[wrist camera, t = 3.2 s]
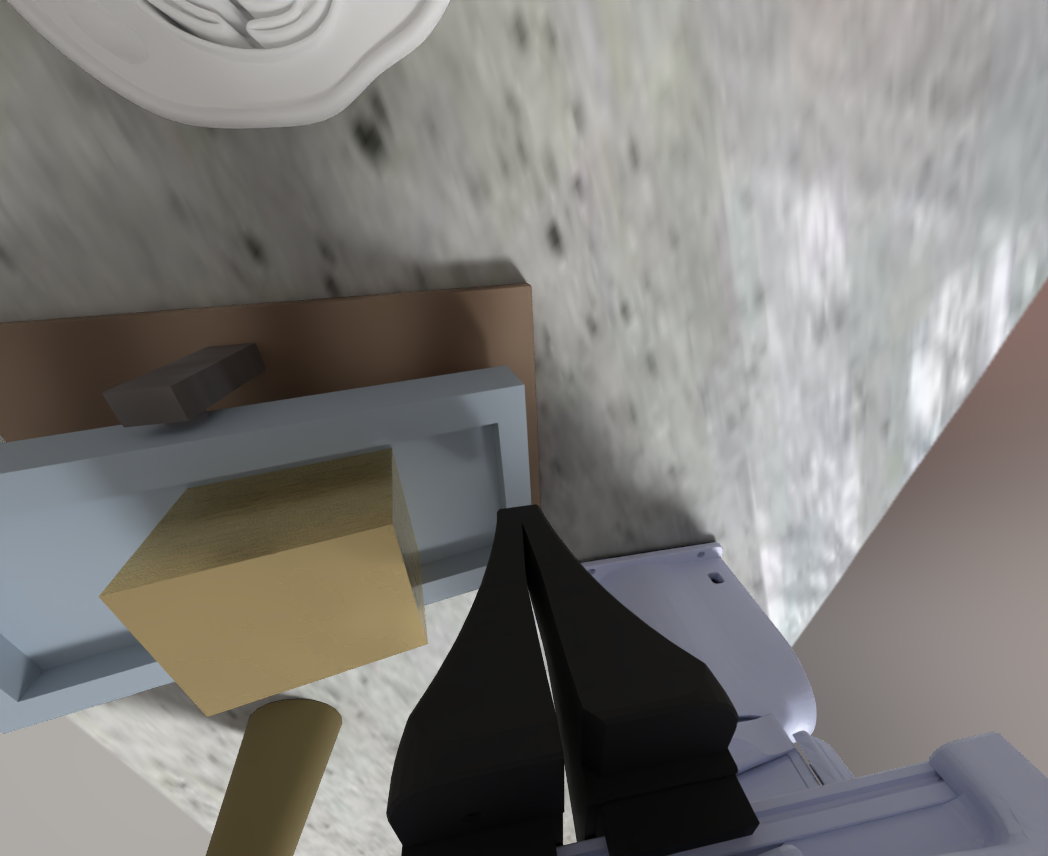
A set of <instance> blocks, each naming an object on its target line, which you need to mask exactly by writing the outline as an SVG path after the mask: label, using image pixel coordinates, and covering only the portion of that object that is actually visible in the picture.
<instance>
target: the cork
mask: <svg viewBox="0 0 1048 856" xmlns="http://www.w3.org/2000/svg"><path fill="white" fill-rule="evenodd" d="M341 725H342V717H341V715H340V714H339V713H338V711H337V710H336V709H334V708H333V707H331V706H329V705H327V704H325V703H321V702H318V701H314V700H305V699H290V700H281V701H277V702H273V703H269V704H267V705H265V706H263V707H260V708H258V709H257V710H256V711H255V712H254V713H253V714H252V715H251V716H250V718H249V721H248V724H247V727H246V731H245V734H244V737H243V740H242V743H241V746H240V749H239V753H238V756H237V759H236V762H235V765H234V768H233V771H232V775H231V778H230V781H229V784H228V787H227V790H226V793H225V797H224V800H223V803H222V806H221V809H220V812H219V815H218V819H217V822H216V825H215V828H214V831H213V834H212V837H211V841H210V844H209V847H208V850H207V854H206V856H293V855H294V852H295V849H296V846H297V844H298V841H299V838H300V836H301V833H302V830H303V828H304V825H305V822H306V819H307V817H308V814H309V811H310V809H311V806H312V803H313V801H314V798H315V795H316V792H317V790H318V787H319V784H320V782H321V779H322V776H323V773H324V771H325V768H326V765H327V763H328V760H329V757H330V755H331V752H332V749H333V746H334V744H335V741H336V738H337V736H338V733H339V730H340V728H341Z"/></svg>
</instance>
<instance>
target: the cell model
mask: <svg viewBox="0 0 1048 856" xmlns="http://www.w3.org/2000/svg"><path fill="white" fill-rule="evenodd" d="M7 1H8V2H9V3H10V4H11V5H12V6H13V7H14V8H15V9H16V10H17V12H18V13H19V14H20V15H21V16H22V17H23V18H24V19H25V20H26V21H27V22H28V23H29V24H30V25H31V26H33V27H34V28H35V29H36V30H37V31H38V32H39V33H40V34H41V35H42V36H43V37H44V38H45V39H46V40H48V41H49V42H50V43H51V44H52V45H53V46H55V47H56V48H57V49H58V50H59V51H61V52H62V53H63V54H64V55H65V56H66V57H68V58H69V59H70V60H72V61H73V62H74V63H75V64H77V65H78V66H79V67H81V68H82V69H83V70H85V71H86V72H87V73H89V74H90V75H91V76H93V77H94V78H96V79H97V80H98V81H100V82H101V83H103V84H104V85H106V86H107V87H109V88H110V89H112V90H113V91H115V92H116V93H118V94H119V95H121V96H122V97H124V98H126V99H127V100H129V101H131V102H133V103H134V104H136V105H138V106H140V107H142V108H144V109H146V110H147V111H149V112H151V113H153V114H156V115H158V116H161V117H163V118H166V119H168V120H172V121H175V122H179V123H182V124H187V125H192V126H198V127H207V128H223V129H249V128H273V127H291V126H302V125H309V124H314V123H318V122H322V121H324V120H327V119H329V118H331V117H334V116H336V115H337V114H338V113H340V112H341V111H342V110H344V109H345V108H346V107H348V106H349V105H350V104H351V103H352V102H353V101H354V100H355V99H356V98H357V97H358V96H359V95H360V94H361V93H362V92H363V91H364V90H365V89H366V88H367V87H368V86H369V85H370V84H371V83H372V82H373V81H374V80H375V79H376V78H377V77H378V76H379V75H380V74H381V73H383V72H384V71H385V70H386V69H388V68H389V67H390V66H392V65H393V64H395V63H396V62H398V61H399V60H401V59H402V58H404V57H405V56H406V55H408V54H409V53H411V52H412V51H413V50H414V49H416V48H417V47H418V46H419V45H420V44H422V42H423V41H424V40H425V39H426V38H427V37H428V36H429V34H430V33H431V32H432V31H433V29H434V28H435V26H436V25H437V23H438V22H439V20H440V19H441V17H442V15H443V13H444V11H445V10H446V8H447V6H448V4H449V2H450V0H7Z"/></svg>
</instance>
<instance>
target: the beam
mask: <svg viewBox="0 0 1048 856" xmlns="http://www.w3.org/2000/svg"><path fill="white" fill-rule="evenodd" d="M390 448H392V450H393V454H394V458H395V462H396V465H397V469H398V473H399V477H400V481H401V484H402V488H403V492H404V496H405V500H406V504H407V507H408V511H409V515H410V519H411V523H412V527H413V530H414V534H415V538H416V542H417V546H418V550H419V554H420V565H421V576H422V587H423V597H424V605H427V604H431V603H434V602H437V601H441V600H444V599H447V598H450V597H454V596H457V595H460V594H463V593H467V592H470V591H473V590H477V589H479V588H480V585H481V582H482V579H483V576H484V573H485V570H486V567H487V564H488V561H489V557H490V553H491V549H492V545H493V541H494V536H495V531H496V524H497V511H498V510H499V509H504V508H511V507H519V506H526V505H531V490H530V473H529V455H528V438H527V420H526V403H525V386H524V384H523V382H522V381H521V380H520V379H519V378H518V377H517V376H516V375H515V374H514V373H513V372H512V371H511V370H510V368H509V367H508V366H507V365H504V366H498V367H491V368H485V369H478V370H472V371H466V372H459V373H453V374H446V375H440V376H433V377H427V378H420V379H414V380H407V381H401V382H394V383H388V384H381V385H375V386H369V387H362V388H356V389H349V390H343V391H336V392H330V393H323V394H317V395H310V396H304V397H297V398H291V399H284V400H278V401H271V402H265V403H259V404H252V405H246V406H239V407H233V408H226V409H220V410H213V411H207V410H204V411H203V412H201V413H200V414H198V415H197V416H195V417H194V418H192V419H191V420H189V421H183V422H174V423H164V424H154V425H145V426H135V427H126V428H124V427H123V426H122V425H116V426H110V427H103V428H97V429H90V430H84V431H77V432H71V433H65V434H58V435H52V436H45V437H39V438H32V439H26V440H19V441H13V442H6V443H0V731H1V732H2V733H3V734H5V733H8V732H12V731H15V730H18V729H21V728H25V727H28V726H31V725H34V724H38V723H41V722H44V721H48V720H51V719H54V718H57V717H61V716H64V715H67V714H70V713H74V712H77V711H80V710H84V709H87V708H90V707H93V706H97V705H100V704H103V703H107V702H110V701H113V700H116V699H120V698H123V697H126V696H129V695H133V694H136V693H139V692H143V691H146V690H149V689H152V688H156V687H159V686H162V685H165V684H169V683H172V682H175V681H174V680H173V679H172V678H171V677H170V676H169V674H168V673H167V672H166V671H165V670H164V669H163V668H162V667H161V666H160V664H159V663H158V662H157V661H156V660H155V659H154V658H153V657H152V656H151V654H150V653H149V652H148V651H147V650H146V649H145V648H144V647H143V646H142V644H141V643H140V642H139V641H138V640H137V639H136V638H135V637H134V636H133V635H132V633H131V632H130V631H129V630H128V629H127V628H126V627H125V626H124V625H123V623H122V622H121V621H120V620H119V619H118V618H117V617H116V616H115V615H114V613H113V612H112V611H111V610H110V609H109V608H108V607H107V606H106V605H105V603H104V602H103V601H102V600H101V599H100V598H99V595H100V594H101V593H102V592H103V590H104V589H105V588H106V587H107V586H108V584H109V583H110V582H111V581H112V579H113V578H114V577H115V576H116V575H117V573H118V572H119V571H120V570H121V568H122V567H123V566H124V565H125V563H126V562H127V561H128V560H129V559H130V557H131V556H132V555H133V554H134V552H135V551H136V550H137V549H138V548H139V546H140V545H141V544H142V543H143V541H144V540H145V539H146V538H147V537H148V535H149V534H150V533H151V532H152V530H153V529H154V528H155V527H156V526H157V524H158V523H159V522H160V521H161V519H162V518H163V517H164V516H165V515H166V513H167V512H168V511H169V510H170V508H171V507H172V506H173V505H174V504H175V502H176V501H177V500H178V499H179V497H180V496H181V495H182V494H183V493H184V491H185V490H186V489H187V488H192V487H197V486H202V485H207V484H212V483H217V482H222V481H227V480H232V479H237V478H243V477H248V476H253V475H258V474H263V473H268V472H273V471H278V470H283V469H288V468H293V467H298V466H304V465H309V464H314V463H319V462H324V461H329V460H334V459H339V458H344V457H349V456H354V455H359V454H364V453H370V452H375V451H380V450H385V449H390Z"/></svg>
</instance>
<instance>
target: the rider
mask: <svg viewBox="0 0 1048 856" xmlns="http://www.w3.org/2000/svg"><path fill="white" fill-rule="evenodd" d="M99 598H100V599H101V600H102V601H103V602H104V603H105V605H106V606H107V607H108V608H109V609H110V610H111V611H112V612H113V613H114V615H115V616H116V617H117V618H118V619H119V620H120V621H121V622H122V623H123V625H124V626H125V627H126V628H127V629H128V630H129V631H130V632H131V633H132V635H133V636H134V637H135V638H136V639H137V640H138V641H139V642H140V643H141V644H142V646H143V647H144V648H145V649H146V650H147V651H148V652H149V653H150V654H151V656H152V657H153V658H154V659H155V660H156V661H157V662H158V663H159V664H160V666H161V667H162V668H163V669H164V670H165V671H166V672H167V673H168V674H169V676H170V677H171V678H172V679H173V680H174V681H175V682H176V683H177V684H178V686H179V687H180V688H181V689H182V690H183V691H184V692H185V693H186V694H187V695H188V697H189V698H190V699H191V700H192V701H193V702H194V703H195V704H196V705H197V707H198V708H199V709H200V710H201V711H202V712H203V713H204V714H205V715H206V717H209V716H212V715H215V714H218V713H221V712H224V711H227V710H230V709H233V708H236V707H239V706H242V705H245V704H248V703H251V702H254V701H257V700H260V699H263V698H266V697H269V696H272V695H275V694H278V693H281V692H284V691H287V690H290V689H293V688H296V687H300V686H303V685H306V684H309V683H312V682H315V681H318V680H321V679H324V678H327V677H330V676H333V675H336V674H339V673H342V672H345V671H348V670H351V669H354V668H357V667H360V666H363V665H366V664H369V663H372V662H375V661H378V660H381V659H384V658H387V657H390V656H393V655H396V654H399V653H402V652H405V651H408V650H411V649H414V648H417V647H420V646H423V645H426V644H428V640H427V630H426V619H425V608H424V597H423V587H422V576H421V565H420V554H419V550H418V546H417V542H416V538H415V534H414V530H413V527H412V523H411V519H410V515H409V511H408V507H407V504H406V500H405V496H404V492H403V488H402V484H401V481H400V477H399V473H398V469H397V465H396V462H395V458H394V454H393V450H392V448H390V449H385V450H380V451H375V452H370V453H364V454H359V455H354V456H349V457H344V458H339V459H334V460H329V461H324V462H319V463H314V464H309V465H304V466H298V467H293V468H288V469H283V470H278V471H273V472H268V473H263V474H258V475H253V476H248V477H243V478H237V479H232V480H227V481H222V482H217V483H212V484H207V485H202V486H197V487H192V488H187V489H186V490H185V491H184V493H183V494H182V495H181V496H180V497H179V499H178V500H177V501H176V502H175V504H174V505H173V506H172V507H171V508H170V510H169V511H168V512H167V513H166V515H165V516H164V517H163V518H162V519H161V521H160V522H159V523H158V524H157V526H156V527H155V528H154V529H153V530H152V532H151V533H150V534H149V535H148V537H147V538H146V539H145V540H144V541H143V543H142V544H141V545H140V546H139V548H138V549H137V550H136V551H135V552H134V554H133V555H132V556H131V557H130V559H129V560H128V561H127V562H126V563H125V565H124V566H123V567H122V568H121V570H120V571H119V572H118V573H117V575H116V576H115V577H114V578H113V579H112V581H111V582H110V583H109V584H108V586H107V587H106V588H105V589H104V590H103V592H102V593H101V594H100V595H99Z"/></svg>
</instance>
